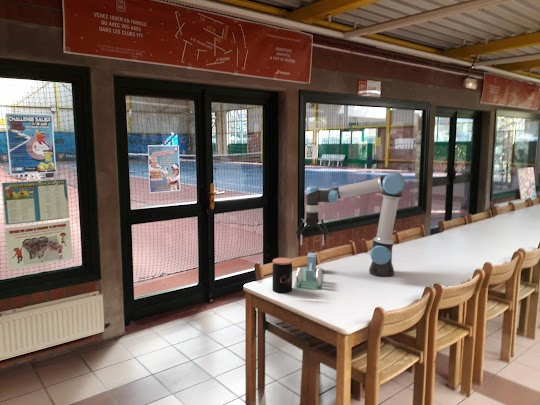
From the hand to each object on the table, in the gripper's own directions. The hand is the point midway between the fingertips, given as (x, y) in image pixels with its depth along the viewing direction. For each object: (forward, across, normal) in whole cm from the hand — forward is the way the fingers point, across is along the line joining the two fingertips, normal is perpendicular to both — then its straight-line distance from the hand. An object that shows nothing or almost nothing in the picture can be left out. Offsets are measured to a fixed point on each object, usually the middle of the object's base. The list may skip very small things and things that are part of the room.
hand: (312, 245), depth 261 cm
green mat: (+18, +1, +15) cm, 23 cm away
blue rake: (+17, 0, +7) cm, 18 cm away
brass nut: (+17, +1, +16) cm, 23 cm away
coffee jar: (+18, +15, +38) cm, 45 cm away
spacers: (+17, +1, +27) cm, 32 cm away
